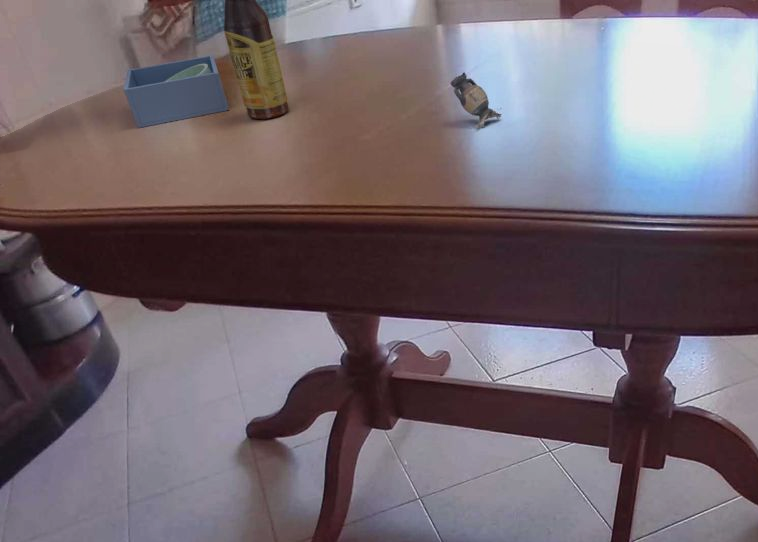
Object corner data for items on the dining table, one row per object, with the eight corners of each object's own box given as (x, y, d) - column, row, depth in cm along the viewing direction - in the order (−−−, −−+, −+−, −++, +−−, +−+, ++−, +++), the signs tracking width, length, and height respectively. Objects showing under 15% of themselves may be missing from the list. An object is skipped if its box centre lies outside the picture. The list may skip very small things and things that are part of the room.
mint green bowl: (166, 116, 106) (154, 99, 104) (165, 100, 112) (154, 84, 111) (219, 88, 106) (208, 71, 104) (216, 75, 113) (205, 58, 111)
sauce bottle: (240, 116, 103) (195, -36, 91) (278, 104, 106) (238, -44, 95) (261, 124, 99) (216, -34, 87) (299, 112, 102) (261, -42, 90)
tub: (138, 128, 103) (123, 90, 100) (140, 105, 113) (127, 69, 110) (229, 110, 106) (218, 72, 103) (223, 89, 117) (213, 54, 113)
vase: (445, 125, 92) (439, 77, 88) (474, 112, 95) (469, 66, 91) (474, 132, 88) (469, 83, 85) (503, 119, 91) (499, 71, 88)
